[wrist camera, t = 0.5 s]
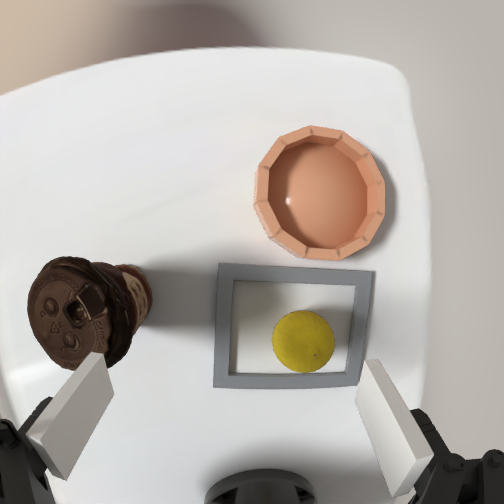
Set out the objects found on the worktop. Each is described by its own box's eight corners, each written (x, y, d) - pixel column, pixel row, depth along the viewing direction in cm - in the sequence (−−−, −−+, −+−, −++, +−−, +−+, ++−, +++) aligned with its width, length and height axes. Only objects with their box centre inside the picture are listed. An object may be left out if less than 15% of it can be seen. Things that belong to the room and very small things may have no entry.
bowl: (369, 262, 31) (382, 263, 28) (250, 254, 30) (252, 255, 27) (371, 147, 31) (383, 139, 28) (258, 130, 30) (261, 119, 27)
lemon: (271, 359, 31) (285, 392, 23) (263, 309, 30) (275, 329, 22) (321, 348, 31) (349, 376, 23) (315, 299, 31) (344, 314, 23)
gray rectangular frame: (354, 382, 31) (357, 385, 31) (213, 384, 30) (213, 387, 29) (369, 271, 31) (372, 271, 31) (219, 262, 30) (218, 263, 29)
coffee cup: (169, 259, 30) (129, 266, 17) (163, 339, 30) (126, 394, 17) (92, 250, 29) (19, 250, 16) (88, 326, 29) (21, 364, 16)
